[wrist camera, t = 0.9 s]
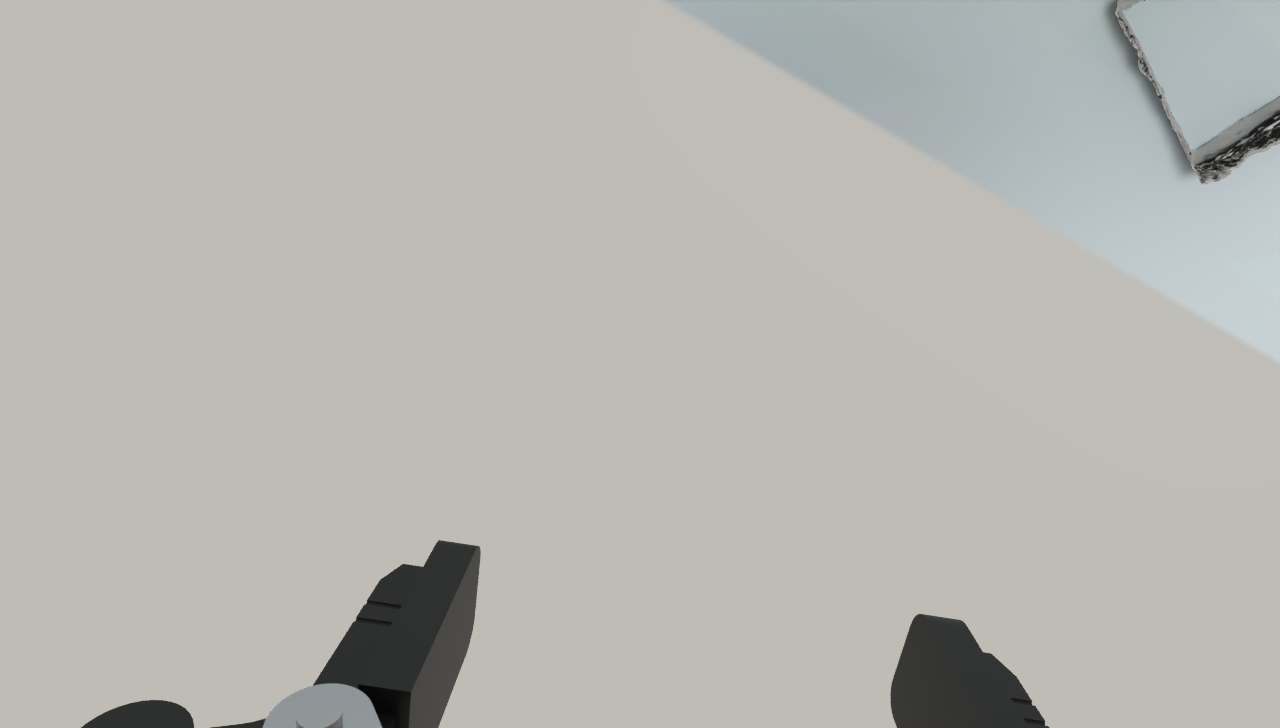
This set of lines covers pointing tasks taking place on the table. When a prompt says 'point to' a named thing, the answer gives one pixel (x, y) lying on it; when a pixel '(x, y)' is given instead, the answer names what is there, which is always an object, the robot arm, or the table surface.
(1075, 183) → the table surface
